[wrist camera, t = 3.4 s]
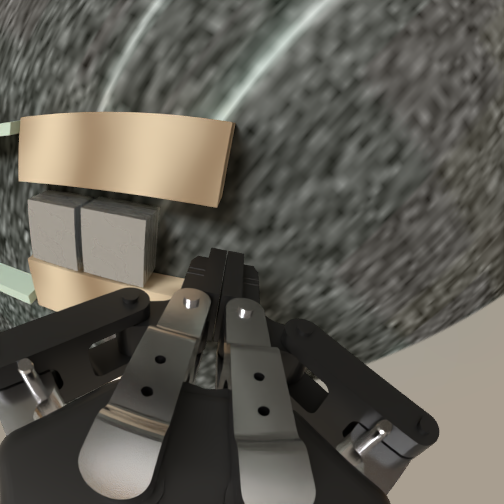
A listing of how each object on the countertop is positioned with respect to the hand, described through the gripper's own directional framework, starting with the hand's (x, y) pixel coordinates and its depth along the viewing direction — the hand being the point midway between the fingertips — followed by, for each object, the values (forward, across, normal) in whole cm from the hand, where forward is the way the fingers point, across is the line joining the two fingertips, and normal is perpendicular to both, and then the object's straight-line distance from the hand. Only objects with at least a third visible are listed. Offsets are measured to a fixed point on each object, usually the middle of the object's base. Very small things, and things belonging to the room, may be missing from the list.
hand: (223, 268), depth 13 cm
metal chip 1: (+4, +11, +1) cm, 11 cm away
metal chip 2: (+4, +6, +1) cm, 7 cm away
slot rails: (+3, +7, 0) cm, 8 cm away
